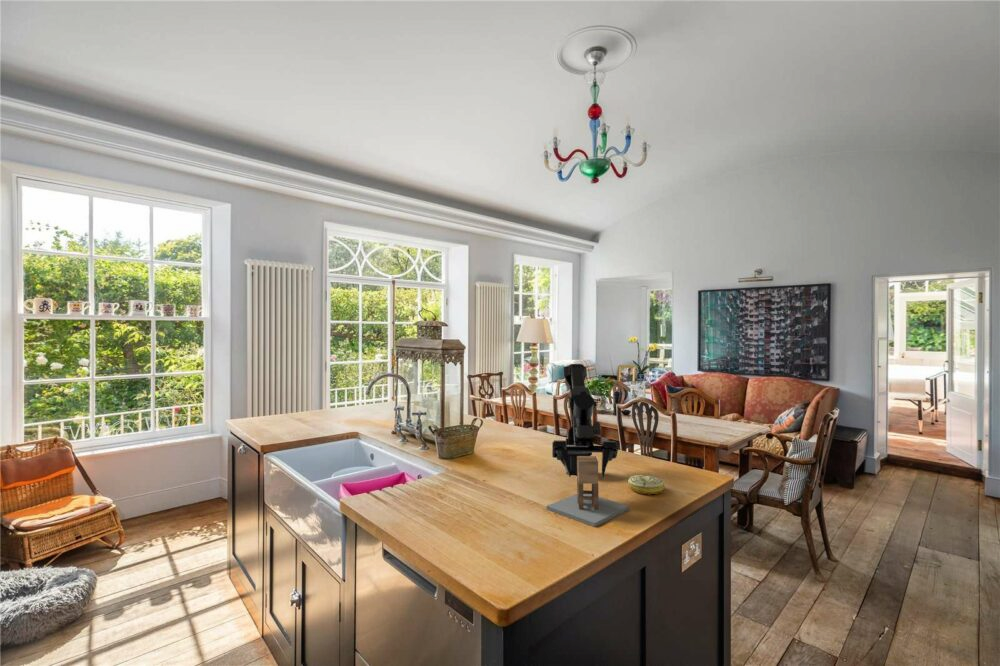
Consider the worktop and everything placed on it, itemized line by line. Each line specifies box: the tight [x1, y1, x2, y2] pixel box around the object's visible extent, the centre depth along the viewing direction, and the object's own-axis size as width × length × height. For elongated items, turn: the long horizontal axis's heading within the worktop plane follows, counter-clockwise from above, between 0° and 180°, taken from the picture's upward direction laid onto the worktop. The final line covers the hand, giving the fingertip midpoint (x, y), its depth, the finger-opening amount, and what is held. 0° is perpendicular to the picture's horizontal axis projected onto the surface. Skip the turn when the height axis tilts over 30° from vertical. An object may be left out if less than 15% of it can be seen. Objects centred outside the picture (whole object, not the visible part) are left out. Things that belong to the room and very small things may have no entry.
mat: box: [546, 493, 630, 528], centre depth 127 cm, size 16×16×1 cm
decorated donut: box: [627, 474, 665, 496], centre depth 142 cm, size 10×11×4 cm
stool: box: [576, 455, 599, 510], centre depth 127 cm, size 5×5×13 cm
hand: (586, 476), depth 130 cm, fingers open, 9 cm apart
